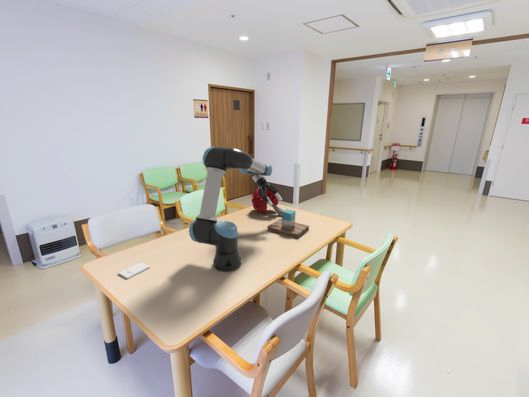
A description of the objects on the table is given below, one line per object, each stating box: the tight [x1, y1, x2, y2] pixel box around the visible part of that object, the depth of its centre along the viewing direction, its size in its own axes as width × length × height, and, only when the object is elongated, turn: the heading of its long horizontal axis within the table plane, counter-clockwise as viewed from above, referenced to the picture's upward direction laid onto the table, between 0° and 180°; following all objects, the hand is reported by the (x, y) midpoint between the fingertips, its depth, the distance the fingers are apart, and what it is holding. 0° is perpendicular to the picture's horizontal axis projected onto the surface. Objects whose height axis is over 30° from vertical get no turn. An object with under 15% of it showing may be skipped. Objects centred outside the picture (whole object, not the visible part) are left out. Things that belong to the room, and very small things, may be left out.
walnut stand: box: [267, 218, 310, 239], centre depth 189 cm, size 18×24×3 cm
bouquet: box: [251, 188, 284, 216], centre depth 221 cm, size 22×24×30 cm
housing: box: [281, 208, 296, 229], centre depth 187 cm, size 7×7×11 cm
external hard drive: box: [117, 261, 151, 280], centre depth 137 cm, size 2×8×12 cm
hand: (276, 202), depth 190 cm, fingers open, 13 cm apart
